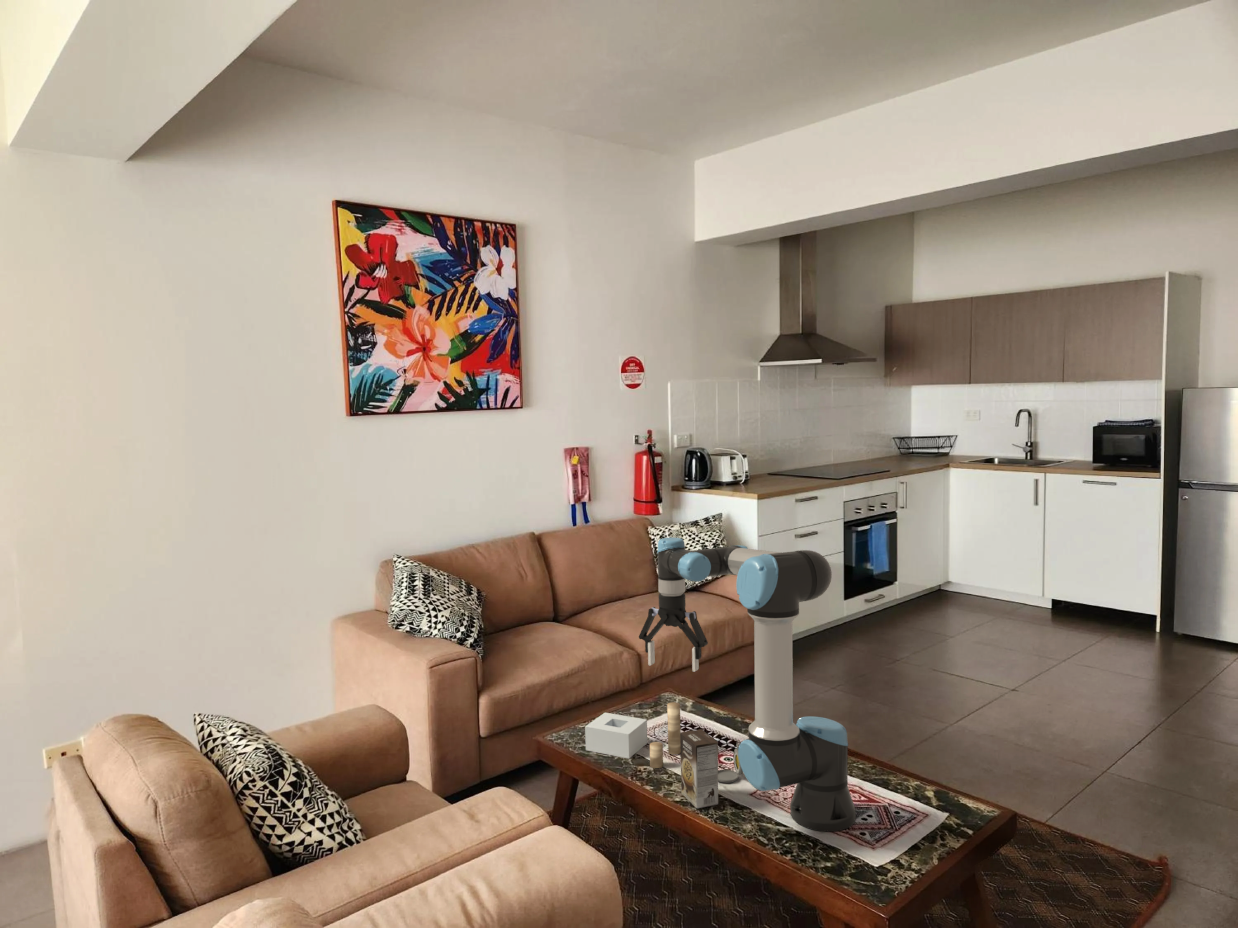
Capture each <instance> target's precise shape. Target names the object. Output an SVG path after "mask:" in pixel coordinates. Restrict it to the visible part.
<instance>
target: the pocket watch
mask: <svg viewBox="0 0 1238 928" xmlns="http://www.w3.org/2000/svg"><path fill="white" fill-rule="evenodd" d="M738 742H739V743H738ZM740 744H741V741H740V740H739V739H738V740H736V745H735V746H736V748H735V749H734V751H733V758H732V759H733V766H734V769H735V771H734V770H732V769H718V783H719V782H720V783H727V784H728V783H733V782H736V781H737V780H738V779H739V777H740V776H742V775H743V774H744V773H743V771H742V768H741V765H740V762H739V757H738V748H739V745H740Z"/></svg>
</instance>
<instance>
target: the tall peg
mask: <svg viewBox="0 0 1238 928" xmlns="http://www.w3.org/2000/svg"><path fill="white" fill-rule="evenodd" d="M666 706H667V707H666V710H667V714H666V715H667V747H668V748H667V750H668V751H667V753H668V754H669V755H670V754H672V755H671V756H674V755H673V754H679V755H681V754H680V753H681V749H680V733H681V732H682V730H681V704H680V703H679V702H676V701H675V702H669V703H667V704H666Z"/></svg>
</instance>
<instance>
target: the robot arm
mask: <svg viewBox="0 0 1238 928" xmlns="http://www.w3.org/2000/svg"><path fill="white" fill-rule="evenodd" d="M656 554H657V571H658V572H657V574H658V575H657V576H658V582H657V583H658V593H659V594H658V607H659V608H656V606H652V607H650V608H649V609H648V611H647V613H648V615H647V618H646V620H645V622H644V624H643V626H642V628H641V631H640V632H639V634H638V635H639V636H638V639H639V640H643V641H644V647H645V649H644V651H645V653H646V654H647V660H648V661H647V662H648V663H647V664H648V666H652V665H654V664H656V661H655V654H656V653H655V651H656V650H655V640H653V638H654V637H655V636H656V635H657V633H659V631H660V630H661V628H663V627H664V625H665V626H666V627H674V628H677V627H678V628H679V629H680V630H682V632H683V634H684V635H685V636H686V637H687V638H688V641H690V643H691V644H692V646H693V647H692V649H691V657H692V658H691V661H692V663H691V665H692V666H691V667H692V670H691V671H692V672H696V671H698V670H699V668H700V667H699V665H700V664H699V662H700V661H699V660H700V659H701V658H702V648H704V647H706V646H707V645H708V644H709V641H708V639H707V637H706V635H705V632H704V631H703V628H702V627H701V625H700V622H699V620H698V615H697V612H696V611H695V610H693V611H691V612H689V611H687V610H686V607H687V606H686V594H685V592H686V581H690V582H702V581H704V580H705V579H707V578H709V577H717V576H724V575H725V576H726V575H731V576H736V584H735V585H736V586H735V587H736V592H737V595H738V596H739V597H738V600H739V602H740V603H741V606H743V607H744V608H745V609H747V611H746V613H747V614H748V616H749V617H751V619H752V620H753V621H754V622H753V623H754V624H753V625H754V627H753V629H754V630H753V631H754V632H753V636H754V637H753V638H754V639H753V640H754V645H753V647H754V650H753V651H754V720H753V722H751V724H749V726H748V738H747V739H744V740H743V741H740V743H739V748H738V757H739V762H740V765H741V768H742V771H743V774H744V776H745V778H746V780H747V781H748V783H749V784H750V785H751V786H752V787H754V788H755V789H756V790H758V791H762V792H766V791H767V792H768V791H777V790H779V789H781V788H784V787H788V786H792V785H795V784H796V786H795V789H794V792H793V795H792V797H791V801H790V805H789V806H790V807H789V808H790V811H789V812H790V817H791V818H792V819H793V821H794V822H795V823H797V824H798V825H800V826H802V827H804V828H807V829H810V830H813V831H819V832H838V831H839V832H840V831H843V830H846V829H849V828H850V827H852V826H853V825H854V824H855V823H856V807H855V804H854V801H853V799H852V795H851V793H850V790H849V789H850V788H849V785H848V784H849V783H848V777H849V776H848V775H849V774H848V771H849V770H848V765H849V764H848V763H849V762H848V759H849V758H848V756H849V755H848V754H849V752H848V751H849V750H848V748H849V747H848V746H849V742H848V733H847V732H848V731H847V730H846V727H845V726H844V725H843V724H841V723H840V722H838V721H836V720H833V719H830V718H826V717H822V716H813V715H812V716H802V717H800V718H798V719H797V721H796V723H795V722H794V714H793V713H794V705H793V703H794V702H793V700H794V698H793V697H794V694H793V693H794V691H793V690H794V689H793V686H794V685H793V683H794V680H793V679H794V678H793V675H794V674H793V673H794V672H793V669H794V668H793V667H794V666H793V665H794V664H793V660H794V659H793V656H794V655H793V621H794V620H795V619H796V618H797V617H799V616H800V603H803V602H807V601H809V602H810V601H812V600H815V599H817V598H819V597H820V596H822V595H824V594H825V593H826V591H827V590H828V588H830V584H831V581H832V579H833V578H832V573H833V572H832V567H831V565H830V562H829V561H828V560H827V558H826V557H825V556H824V555H822V554H821V553H819V552H817V551H813V550H810V549H809V550H807V549H805V550H803V549H800V550H794V551H786V552H779V551H770V550H762V549H756V548H755V549H754V548H748V546H746V545H743V544H742V545H741V544H740V545H737V544H736V545H731V546H729V545H728V546H725V547H724V546H722V547H715V548H714V547H713V548H703V549H694V550H693V549H692V550H689V549H686V544H685V541H684V539H683V538H681V537H663V538H660V539H659V540H658V542H657V551H656ZM657 615H658V616H659V618H660V619H659V620H658V622H657V623H656V625H655V626H654V627H653V628H652V629H651V631H649V630H650V628H651V627H652V624H653V622H654V620H655V617H656V616H657ZM686 618H687V619H688V620H689V623H690V626H691V627H692V628H691V627H690V626H689V623H688V622H687V620H686ZM692 629H693V630H692Z"/></svg>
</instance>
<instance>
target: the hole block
mask: <svg viewBox="0 0 1238 928" xmlns="http://www.w3.org/2000/svg"><path fill="white" fill-rule="evenodd" d="M584 735H585V739H584V740H585V751H589V752H594V753H599V754H603V755H610V756H614V757H618V758H624V759H630V758H632V757H633V756H634V755H635V754H636V753H637V752H639V751H640V750H641V749H642V748H643V747H644V746H646V745H647V744H648V719H647V718H646V719H645V718H641V717H640V718H639V717H633V716H629V715H621V714H616V713H610V712H603V714H600V716H598V717H597V718H595V719H593V720H592V721H591V722H589V723H588V724H586V726H584Z"/></svg>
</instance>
